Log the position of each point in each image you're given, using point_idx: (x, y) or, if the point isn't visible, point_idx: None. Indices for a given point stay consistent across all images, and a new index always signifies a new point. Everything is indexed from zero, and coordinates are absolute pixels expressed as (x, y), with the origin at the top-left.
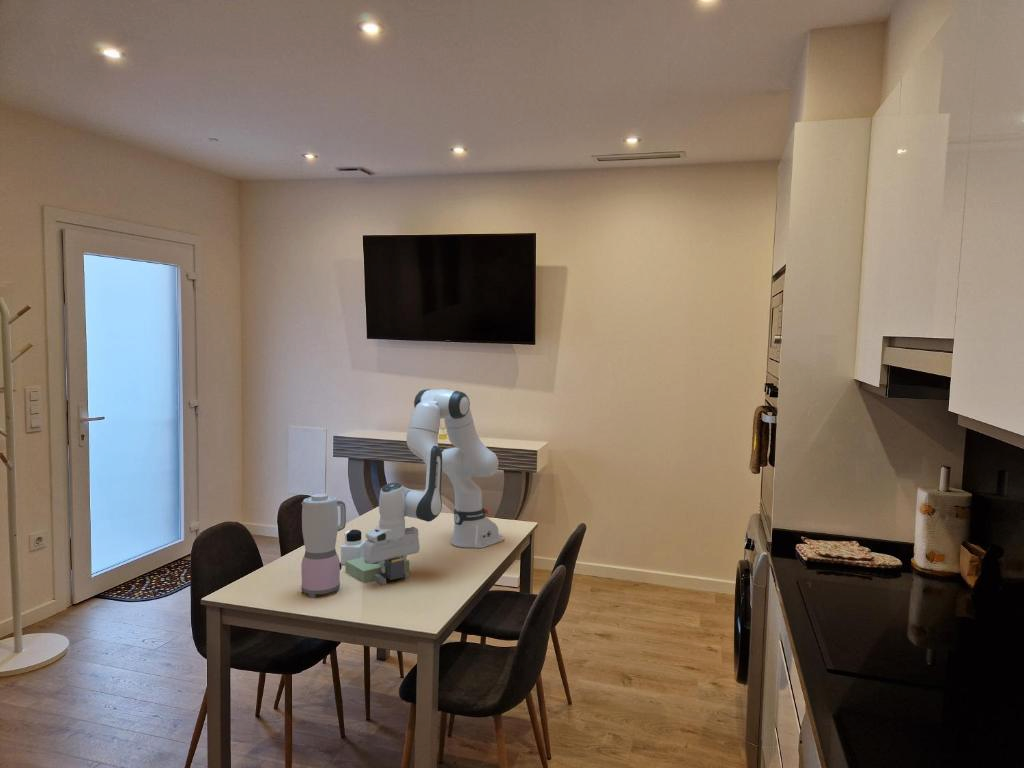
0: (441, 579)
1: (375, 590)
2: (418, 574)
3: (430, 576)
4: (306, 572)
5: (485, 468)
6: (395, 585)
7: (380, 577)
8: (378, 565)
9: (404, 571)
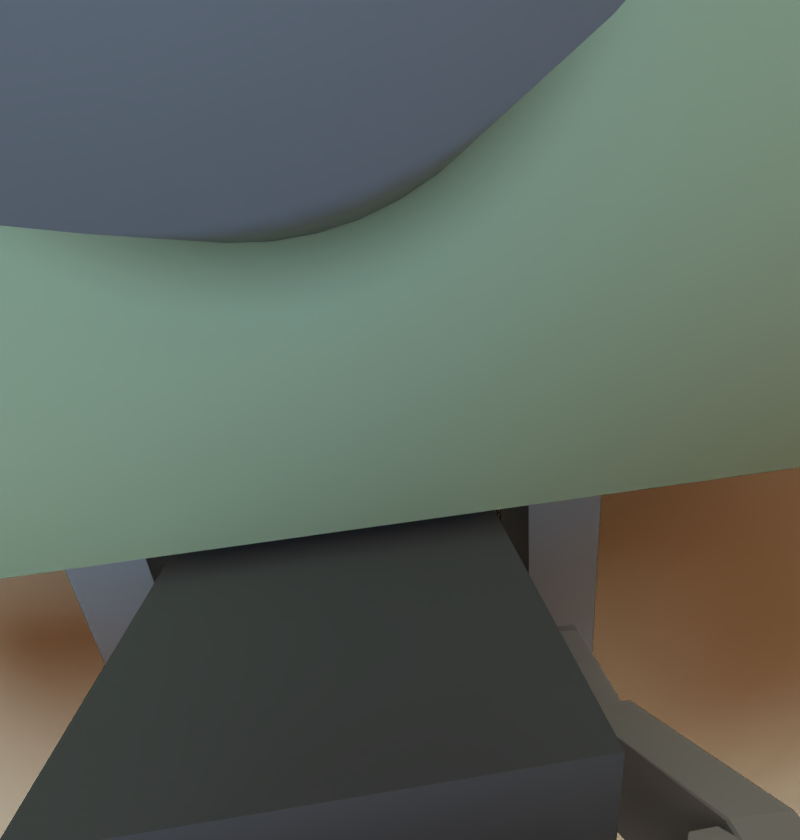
0: (785, 754)
1: None
2: (725, 540)
3: (773, 651)
4: None
5: None
6: None
7: None
8: (128, 411)
9: (570, 602)
